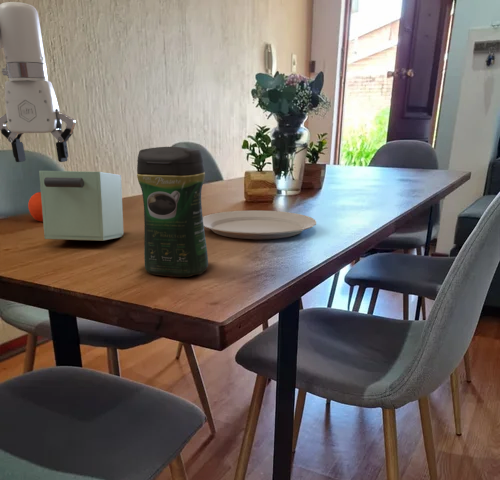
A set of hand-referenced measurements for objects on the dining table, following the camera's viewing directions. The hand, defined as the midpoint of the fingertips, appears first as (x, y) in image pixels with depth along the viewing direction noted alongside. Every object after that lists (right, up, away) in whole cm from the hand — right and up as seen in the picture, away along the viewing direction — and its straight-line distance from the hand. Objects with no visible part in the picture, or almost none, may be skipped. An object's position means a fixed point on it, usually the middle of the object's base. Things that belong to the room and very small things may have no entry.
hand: (41, 161), depth 111 cm
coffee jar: (+34, -28, -31) cm, 54 cm away
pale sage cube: (+14, -20, -14) cm, 28 cm away
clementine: (0, -12, +5) cm, 14 cm away
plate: (+47, -15, 0) cm, 50 cm away
